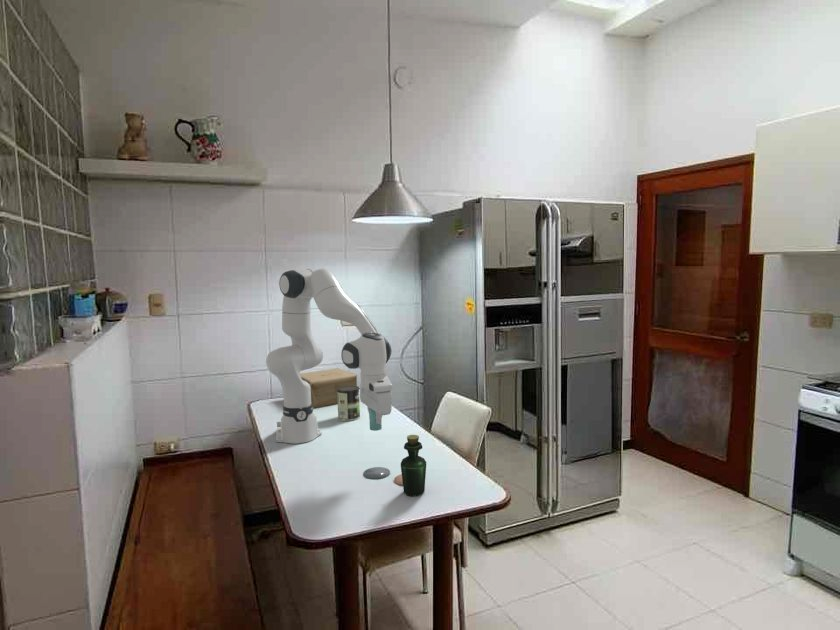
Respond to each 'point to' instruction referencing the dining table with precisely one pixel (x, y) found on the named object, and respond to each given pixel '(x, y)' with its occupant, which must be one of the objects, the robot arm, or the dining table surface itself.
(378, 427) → the marker peg
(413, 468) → the potion bottle
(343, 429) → the dining table surface
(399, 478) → the tan round disc
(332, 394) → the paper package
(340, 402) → the coffee can
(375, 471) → the grey flat disc
